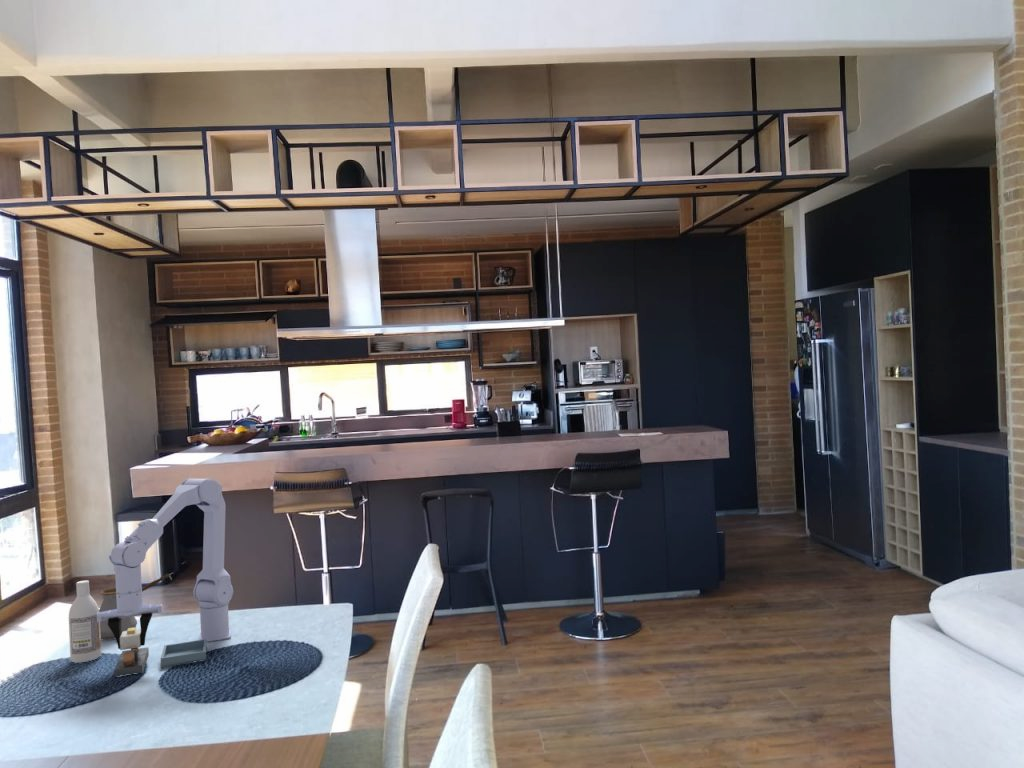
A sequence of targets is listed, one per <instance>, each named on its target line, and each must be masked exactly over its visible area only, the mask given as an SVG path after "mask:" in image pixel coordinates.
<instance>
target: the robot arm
mask: <svg viewBox="0 0 1024 768" xmlns="http://www.w3.org/2000/svg"><path fill="white" fill-rule="evenodd" d="M191 505H196V506H197V507H198V508H199V509H200V510H202V511H203V513H204V514H203V516H204V517H203V547H202V548H203V549H202V570H201V571H200V572H199V573H198V574H197V575H196V582H195V585H194V587H193V592H192V593H193V598H194V599H195V600H196V602H198V606H199V615H200V616H199V619H200V620H199V621H200V622H199V623H200V632H199V639H198V640H204V639H207V643H208V642H216V641H221V640H228V639H231V638H232V628H231V627H230V621H229V620H230V619H229V605H230V601H231V599H232V598H233V596H234V587H233V585H232V582H231V575H230V574H229V572H228V571H227V570H226V569H225V547H226V545H225V539H226V508H227V507H226V506H227V505H226V501H225V499H224V496H223V485H222V484H221V483H219V482H218V481H217V480H216V479H214V478H194V477H193V478H192V477H189V478H185V479H184V480H183V481H182V482H181V483H180V484H179V485H178V486H176V488H175V491H174V493H173V494H172V495H171V497H169V499H168V500H167V501H166V503H164V505H162V507H161V508H160V509H159V511H157V512H156V514H155V515H154V516H153V517H152V518H146V519H144V520H141V521H140V522H139V523H137V525H138V526H137V527H136V528H135V529H134V530H133V531H132V533H130V535H129V536H128V535H127V536H126V537H125V538H124V541H123V542H119V543H117V544H116V545H114V546H113V548H112V549H111V554H110V555H108V558H109V559H108V560H109V562H110V563H111V564H112V565H113V566H114V567H113V568H114V572H115V573H114V575H115V577H114V578H115V588H116V598H117V609H114V610H109V611H104V612H98V613H97V622H101V621H104V620H108V626H109V628H110V629H111V631H112V632H113V634H114V636H115V639H114V640H115V641H116V644H117V648H118V650H120V636H121V618H126V617H133V616H134V617H139V616H140V618H139V623H140V624H139V625H140V629H141V647H142V646H145V645H146V636H147V631H148V628H149V625H150V622H151V619H152V617H153V615H155V614H159V615H160V614H163V603H158V604H144V603H143V602H144V601H143V591H142V588H143V585H142V567H141V566H142V565H141V564H143V562H144V561H145V559H146V555H147V552H148V550H149V549H151V547H152V546H153V545H154V543H156V541H158V540H159V538H161V536H162V535H163V534H164V527H165V526H166V525H167V524H168V523H170V521H171V520H172V519H173V518H174V517H175V516H177V514H179V512H181V511H182V510H183V509H184V508H185V507H187V506H191Z"/></svg>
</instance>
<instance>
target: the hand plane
mask: <svg viewBox="0 0 1024 768" xmlns="http://www.w3.org/2000/svg"><path fill="white" fill-rule="evenodd" d="M121 651H122V652H121V654H120V656H119V658H118V660H117V662H116V665H115V667H114V669H113V670H114V671H113V672H114V677H115V676H120V675H126V674H133V673H144V671H145V668H146V665H147V663H148V662H147V661H148V659H149V656H150V654H149V646H148V647H142V648H141V647H139V648H132V649H125V650H121ZM145 664H146V665H145ZM144 667H145V668H144ZM143 670H144V671H143Z"/></svg>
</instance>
